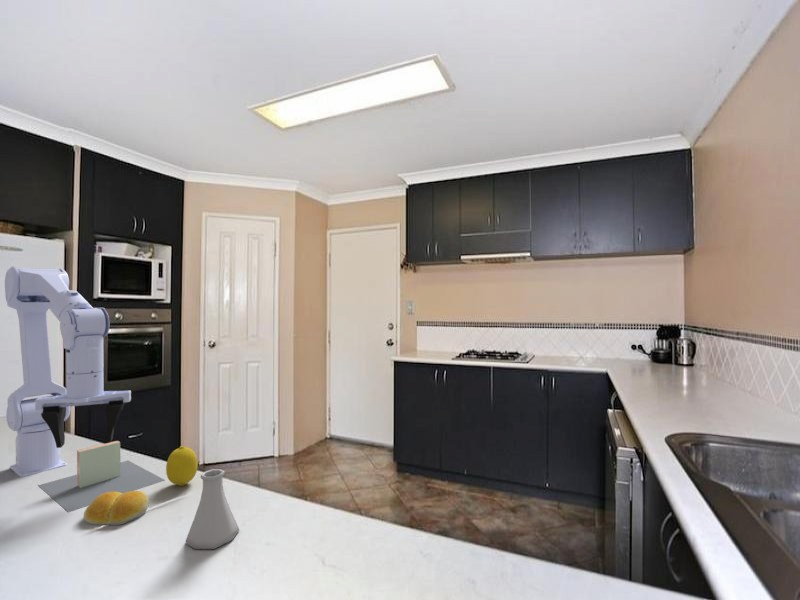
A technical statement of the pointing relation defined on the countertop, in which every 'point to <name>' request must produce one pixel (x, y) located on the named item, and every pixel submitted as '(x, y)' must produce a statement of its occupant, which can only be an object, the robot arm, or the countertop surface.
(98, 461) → the tile
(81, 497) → the mat
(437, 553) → the countertop surface
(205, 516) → the flask
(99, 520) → the bread roll
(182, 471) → the lemon
